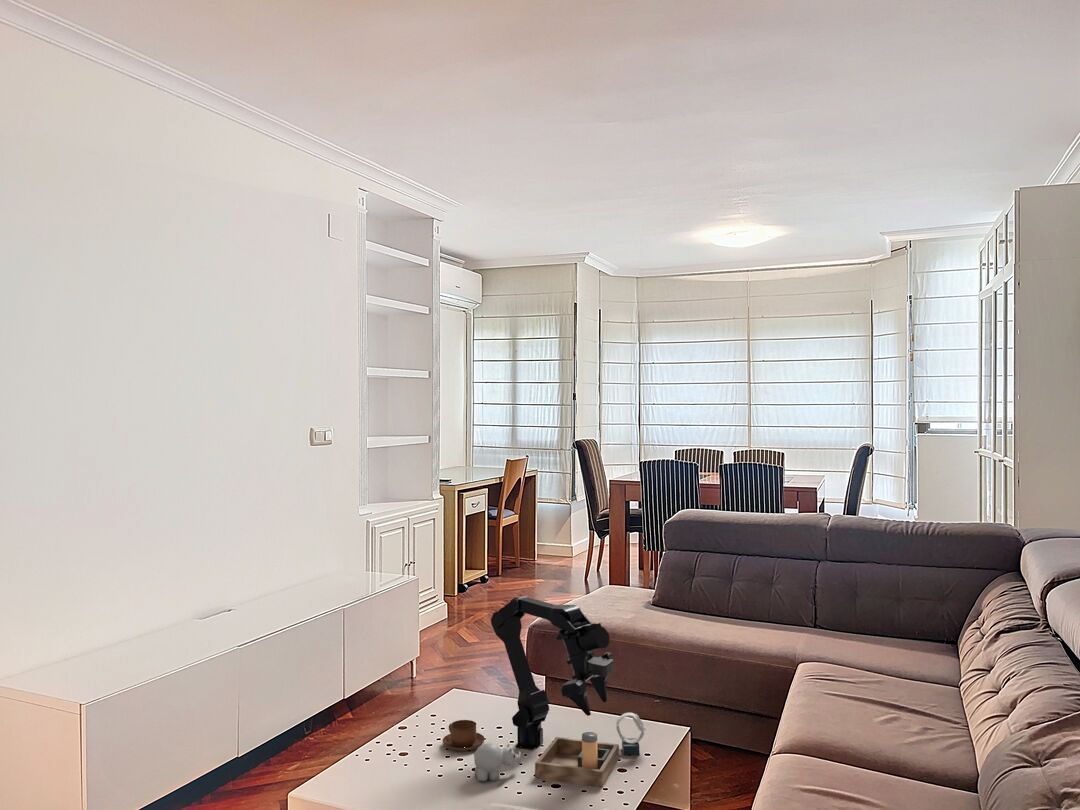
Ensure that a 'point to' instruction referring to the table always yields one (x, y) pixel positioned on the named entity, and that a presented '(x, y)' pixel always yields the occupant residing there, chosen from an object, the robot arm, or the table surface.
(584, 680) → the robot arm
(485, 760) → the chubby cartoon animal
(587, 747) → the grey-capped orange cylinder
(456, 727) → the cup and saucer
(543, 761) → the walled box
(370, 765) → the table surface
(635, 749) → the watch
